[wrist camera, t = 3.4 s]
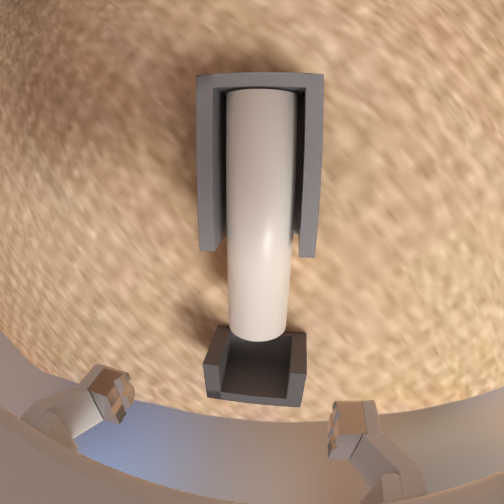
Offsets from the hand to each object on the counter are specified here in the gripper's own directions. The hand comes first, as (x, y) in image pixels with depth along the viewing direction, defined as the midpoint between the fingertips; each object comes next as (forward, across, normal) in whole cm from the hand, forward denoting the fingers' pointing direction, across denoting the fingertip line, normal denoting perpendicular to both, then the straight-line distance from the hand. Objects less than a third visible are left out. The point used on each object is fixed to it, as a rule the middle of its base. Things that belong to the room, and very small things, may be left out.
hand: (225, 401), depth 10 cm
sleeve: (+13, 0, -8) cm, 15 cm away
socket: (+14, 0, +8) cm, 16 cm away
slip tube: (+12, 0, -4) cm, 13 cm away
